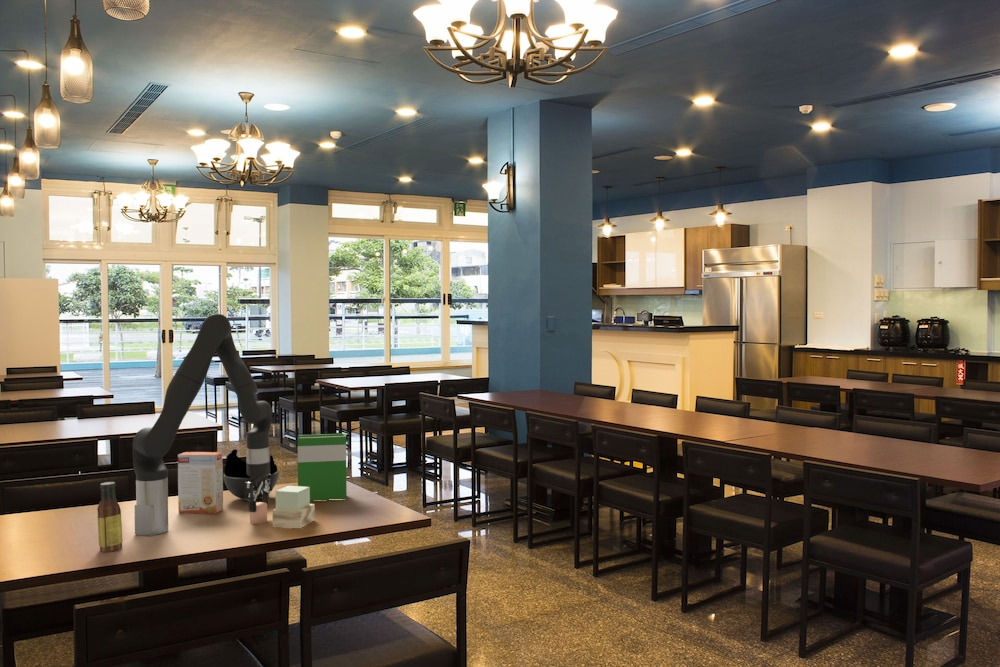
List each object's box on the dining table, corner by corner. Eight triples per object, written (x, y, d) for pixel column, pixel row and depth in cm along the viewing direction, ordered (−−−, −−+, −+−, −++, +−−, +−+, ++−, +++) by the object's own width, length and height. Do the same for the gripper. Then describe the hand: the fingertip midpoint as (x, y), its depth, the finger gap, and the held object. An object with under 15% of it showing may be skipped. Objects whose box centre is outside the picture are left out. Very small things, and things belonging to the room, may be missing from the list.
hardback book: (298, 502, 282) (297, 438, 281) (298, 498, 289) (298, 435, 288) (346, 500, 285) (346, 436, 285) (346, 495, 293) (345, 433, 292)
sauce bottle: (126, 546, 228) (125, 480, 228) (116, 552, 222) (115, 485, 221) (104, 546, 228) (103, 480, 228) (93, 553, 222) (92, 485, 221)
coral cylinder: (261, 524, 252) (261, 506, 252) (246, 523, 253) (246, 505, 253) (270, 520, 257) (270, 502, 257) (255, 519, 259) (255, 501, 258)
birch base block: (300, 529, 247) (300, 511, 247) (272, 527, 249) (272, 509, 249) (314, 521, 256) (314, 503, 256) (287, 519, 259) (287, 502, 258)
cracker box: (224, 509, 271) (223, 451, 271) (216, 514, 265) (215, 454, 265) (186, 508, 273) (185, 450, 272) (177, 513, 267) (177, 453, 266)
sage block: (297, 510, 248) (297, 492, 247) (275, 509, 250) (275, 490, 249) (309, 504, 255) (309, 486, 255) (288, 503, 257) (288, 485, 257)
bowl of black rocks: (290, 497, 290) (290, 448, 289) (246, 508, 273) (246, 456, 272) (256, 490, 301) (255, 443, 300) (212, 501, 284) (211, 451, 283)
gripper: (257, 465, 248) (258, 514, 248) (278, 456, 262) (279, 503, 262) (236, 464, 249) (237, 513, 250) (258, 456, 263) (259, 502, 264)
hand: (259, 508), depth 256 cm, fingers open, 8 cm apart
